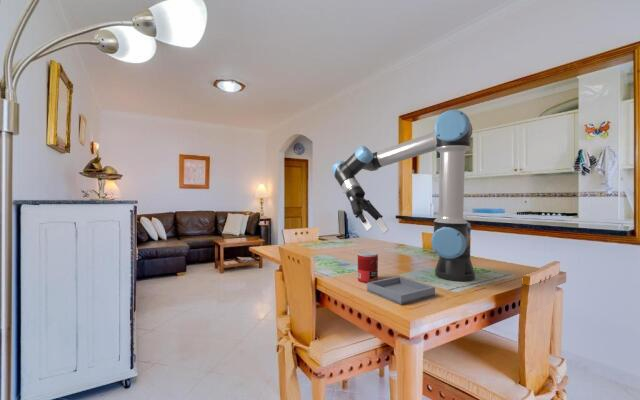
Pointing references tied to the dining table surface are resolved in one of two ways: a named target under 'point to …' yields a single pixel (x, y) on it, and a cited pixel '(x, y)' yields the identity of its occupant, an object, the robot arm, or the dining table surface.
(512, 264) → the dining table surface
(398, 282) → the tray
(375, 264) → the canned food
